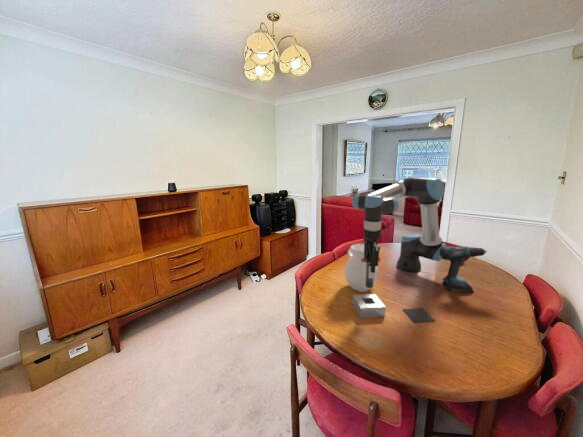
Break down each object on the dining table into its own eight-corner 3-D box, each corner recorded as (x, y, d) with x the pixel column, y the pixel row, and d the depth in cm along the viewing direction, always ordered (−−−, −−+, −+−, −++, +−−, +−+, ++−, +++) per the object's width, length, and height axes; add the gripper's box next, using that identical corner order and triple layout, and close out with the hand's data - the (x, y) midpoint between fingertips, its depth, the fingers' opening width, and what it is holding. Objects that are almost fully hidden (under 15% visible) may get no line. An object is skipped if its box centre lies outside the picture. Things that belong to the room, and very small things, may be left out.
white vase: (382, 286, 146) (385, 246, 140) (368, 299, 133) (370, 255, 127) (354, 277, 158) (355, 239, 152) (338, 288, 145) (339, 247, 139)
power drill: (485, 293, 136) (492, 250, 130) (439, 290, 140) (444, 248, 135) (476, 285, 144) (483, 244, 139) (433, 282, 149) (438, 243, 143)
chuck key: (376, 283, 123) (378, 256, 120) (379, 287, 119) (381, 259, 116) (359, 284, 122) (360, 257, 119) (361, 288, 119) (362, 260, 115)
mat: (402, 309, 123) (403, 309, 123) (422, 308, 124) (422, 307, 124) (414, 322, 113) (414, 321, 113) (435, 321, 114) (435, 320, 114)
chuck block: (352, 303, 129) (352, 295, 128) (374, 302, 130) (375, 293, 129) (360, 317, 117) (360, 308, 116) (385, 316, 118) (385, 306, 117)
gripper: (358, 224, 122) (356, 269, 127) (371, 234, 106) (368, 284, 111) (373, 224, 123) (370, 268, 128) (388, 233, 106) (385, 283, 112)
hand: (369, 275), depth 120 cm, fingers closed on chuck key, 3 cm apart
